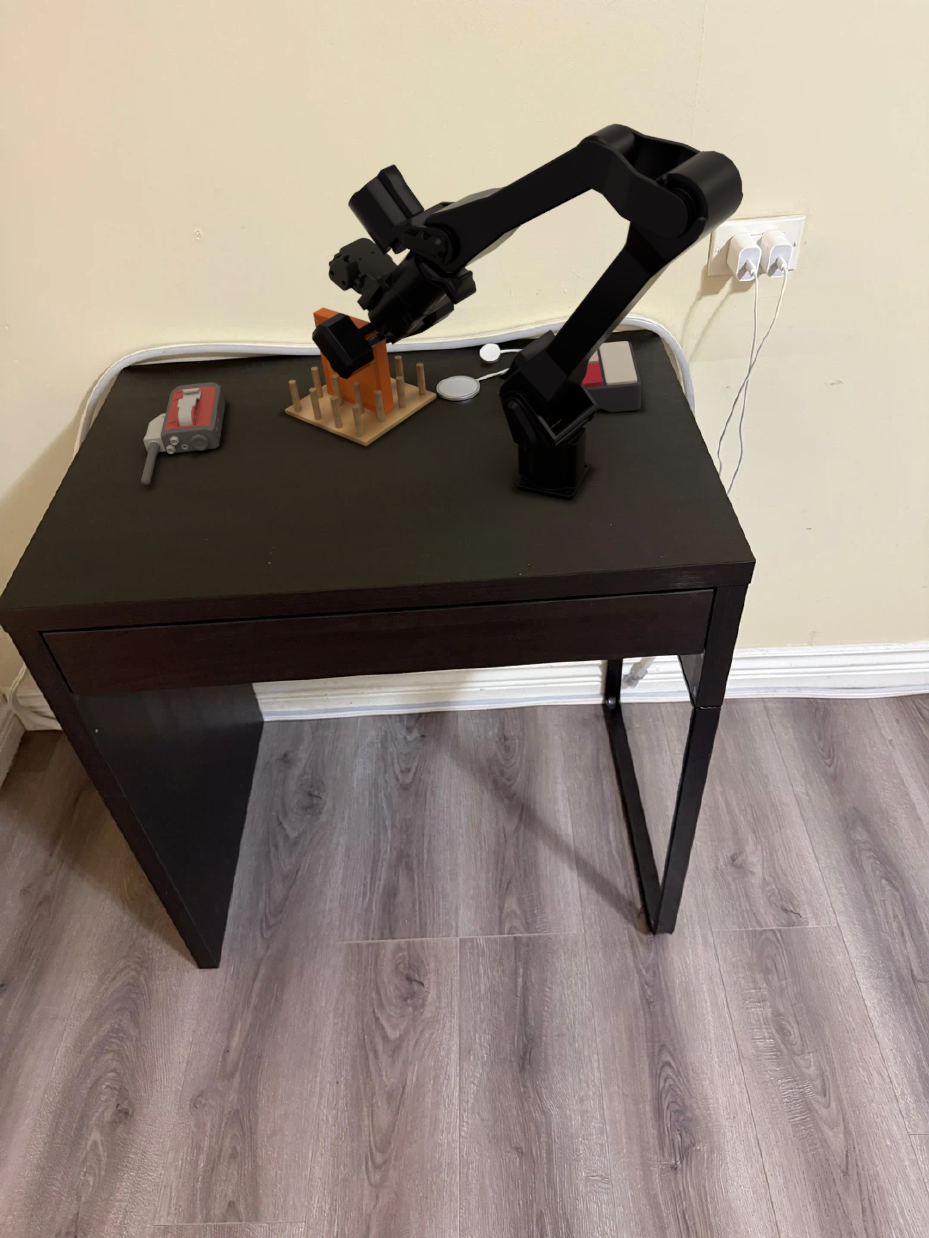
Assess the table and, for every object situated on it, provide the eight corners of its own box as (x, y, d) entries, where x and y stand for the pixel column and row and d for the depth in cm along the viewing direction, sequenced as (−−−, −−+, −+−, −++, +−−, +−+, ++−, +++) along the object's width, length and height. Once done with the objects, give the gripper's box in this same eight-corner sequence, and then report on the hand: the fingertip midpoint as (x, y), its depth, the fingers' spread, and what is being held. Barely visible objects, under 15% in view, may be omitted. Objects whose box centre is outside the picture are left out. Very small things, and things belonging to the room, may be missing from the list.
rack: (436, 397, 115) (433, 364, 112) (366, 446, 108) (360, 413, 105) (357, 369, 122) (352, 337, 119) (285, 413, 115) (278, 381, 112)
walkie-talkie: (161, 405, 118) (139, 494, 104) (151, 374, 115) (126, 461, 101) (228, 397, 119) (215, 485, 104) (220, 367, 116) (205, 452, 101)
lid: (394, 409, 113) (384, 326, 105) (385, 416, 112) (373, 332, 104) (337, 388, 117) (323, 307, 110) (327, 394, 117) (312, 312, 109)
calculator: (513, 346, 116) (631, 335, 115) (516, 377, 119) (630, 366, 118) (515, 390, 108) (642, 378, 107) (518, 421, 111) (641, 410, 110)
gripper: (426, 194, 101) (367, 271, 114) (308, 253, 91) (258, 330, 104) (485, 278, 102) (420, 345, 115) (375, 345, 92) (318, 410, 105)
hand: (356, 355), depth 110 cm, fingers open, 8 cm apart
